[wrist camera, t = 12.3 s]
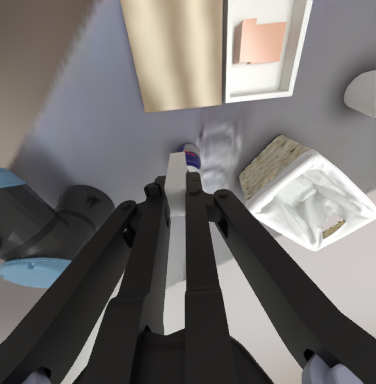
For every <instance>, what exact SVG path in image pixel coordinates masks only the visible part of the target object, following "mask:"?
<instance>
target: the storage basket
mask: <svg viewBox="0 0 376 384" xmlns="http://www.w3.org/2000/svg"><path fill="white" fill-rule="evenodd" d="M239 179H240V184H241V187H242V191H243V194H244V199H245V207H246V208H247V209H248V210H249V211H250V213H251V214H252V215H253V216H254V217H255V218H256V219H258V220H259V221H261V222H262V223H264V224H266V225H267V226H269V227H271V228H272V229H274V230H275V231H277V232H279V233H281V234H283V235H284V236H286V237H288V238H289V239H291V240H293V241H294V242H296V243H298V244H300V245H301V246H303V247H305V248H307V249H309V250H311V251H317V250H319V249H321V248H322V247H324V246H327V245H329V244H331V243H333V242H334V241H336V240H338V239H340V238H342V237H344V236H346V235H348V234H349V233H351V232H353V231H355V230H356V229H358V228H360V227H362V226H364V225H366V224H367V223H369V222H371V221H373V220H375V219H376V206H375V205H374V204H373V202H372V201H371V200H370V199H369V198H368V197H367V196H366V195H365V194H364V193H363V192H362V191H361V190H360V189H359V188H358V187H357V186H356V185H355V184H354V183H353V182H352V181H351V180H350V179H349V178H348V177H347V176H346V175H345V174H344V173H343V172H342V171H340V170H339V169H338V168H337V167H336V166H334V165H333V164H332V163H331V162H329V161H328V160H327V159H326V158H325V157H323V156H322V155H321V154H319V153H318V152H317V151H315V150H313V149H310V148H308V147H306V146H303V145H300V144H299V143H298V142H295V141H293V140H291V139H288V138H287V137H285V136H284V135H280V136H278V137H276V138H275V139H274V140H273V141H272V143H270V144H269V145H268V146H267V147H266V148H265V149H264V150H263V151H262V152H261V153H260V154H259V156H258V157H256V158H255V159H254V160H253V161H252V162H251V164H250V165H248V166H247V167H246V169H245V170H244V171H243V172H242V173H241V174H240V175H239ZM332 214H337V215H339V216H340V217H342V218H343V219H344V220H343V221H340V222H338V224H336V225H334V226H333V227H330V228H329V229H328V230H325V231H324V232H322V230H321V227H322V226H323V225H324V224H325V223H326V222H327V219H328V217H329V216H330V215H332Z"/></svg>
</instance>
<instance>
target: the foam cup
mask: <svg viewBox="0 0 376 384" xmlns="http://www.w3.org/2000/svg"><path fill="white" fill-rule="evenodd" d="M344 103H345V104H346V106H348V107H350V108H352V109H354V110H357V111H359V112H361V113H364V114H366V115H368V116H370V117H373V118H375V119H376V70H373V71H369V72H365V73H362V74H360V75H359V76H358V77H356V78H355V79H354V80H353V81H352V82H351V83H350V84H349V85H348V87H347V89H346V91H345V93H344Z"/></svg>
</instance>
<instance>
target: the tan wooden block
mask: <svg viewBox="0 0 376 384" xmlns="http://www.w3.org/2000/svg"><path fill="white" fill-rule="evenodd" d="M120 1H121V6H122V10H123V15H124V19H125V24H126V28H127V33H128V37H129V42H130V46H131V51H132V55H133V59H134V64H135V68H136V73H137V77H138V82H139V86H140V91H141V95H142V100H143V104H144V109H145V113H149V112H159V111H168V110H177V109H187V108H196V107H205V106H215V105H221V97H222V20H223V0H120Z"/></svg>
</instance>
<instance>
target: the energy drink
mask: <svg viewBox="0 0 376 384" xmlns="http://www.w3.org/2000/svg"><path fill="white" fill-rule="evenodd" d="M178 152H185V158H186V165H187V173H188V172H196V171H197V172H198V173H199V174H200V179H202V168H201V160H200V152H199V149H198V147H197V146H196V145H194V144H191V143H186V144H183V145H182V146H181V147H180V148H179V150H178Z"/></svg>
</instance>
